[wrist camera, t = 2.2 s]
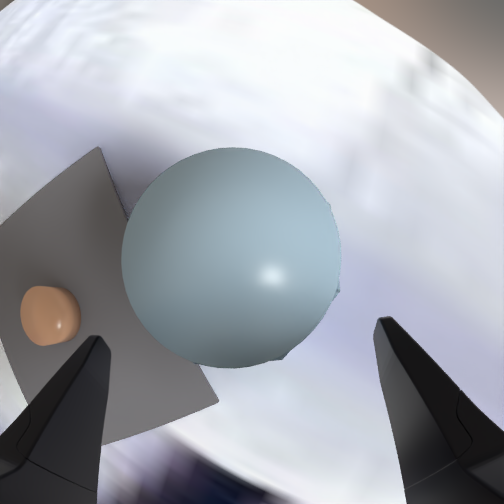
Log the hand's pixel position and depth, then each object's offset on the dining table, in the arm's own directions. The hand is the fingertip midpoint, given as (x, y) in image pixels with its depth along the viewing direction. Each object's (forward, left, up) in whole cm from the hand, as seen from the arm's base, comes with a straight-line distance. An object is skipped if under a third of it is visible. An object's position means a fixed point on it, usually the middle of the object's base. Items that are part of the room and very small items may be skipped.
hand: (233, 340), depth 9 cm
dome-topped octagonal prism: (+2, +2, -10) cm, 10 cm away
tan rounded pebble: (-8, +12, -9) cm, 17 cm away
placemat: (-8, +12, -10) cm, 17 cm away
